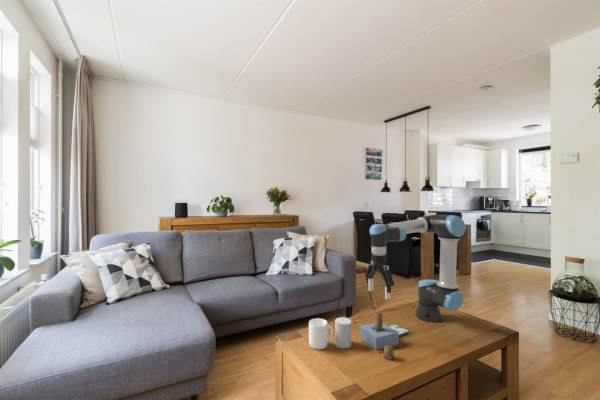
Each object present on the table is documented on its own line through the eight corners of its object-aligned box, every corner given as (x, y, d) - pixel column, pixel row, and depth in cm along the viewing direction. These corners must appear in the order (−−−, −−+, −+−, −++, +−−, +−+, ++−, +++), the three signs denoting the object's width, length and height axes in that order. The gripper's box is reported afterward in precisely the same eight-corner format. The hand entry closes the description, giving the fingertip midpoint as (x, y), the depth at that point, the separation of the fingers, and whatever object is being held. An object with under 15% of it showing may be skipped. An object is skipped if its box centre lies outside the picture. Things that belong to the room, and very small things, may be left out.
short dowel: (389, 354, 136) (389, 344, 136) (395, 359, 132) (395, 348, 132) (382, 356, 134) (382, 346, 134) (388, 361, 131) (388, 350, 131)
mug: (305, 342, 147) (305, 320, 147) (326, 338, 152) (326, 316, 152) (313, 351, 139) (313, 327, 138) (335, 346, 143) (335, 323, 143)
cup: (341, 338, 152) (341, 316, 151) (354, 344, 146) (354, 320, 146) (331, 344, 146) (331, 320, 146) (344, 350, 140) (344, 325, 140)
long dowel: (379, 338, 152) (379, 311, 152) (384, 341, 148) (384, 314, 148) (372, 339, 151) (373, 313, 150) (377, 343, 147) (377, 316, 147)
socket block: (380, 332, 159) (380, 321, 159) (398, 344, 146) (398, 332, 146) (359, 337, 153) (359, 325, 153) (376, 349, 140) (376, 337, 140)
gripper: (358, 250, 159) (359, 288, 159) (389, 259, 136) (389, 303, 136) (370, 249, 162) (370, 286, 162) (401, 257, 139) (401, 301, 139)
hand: (379, 294), depth 149 cm, fingers open, 13 cm apart
